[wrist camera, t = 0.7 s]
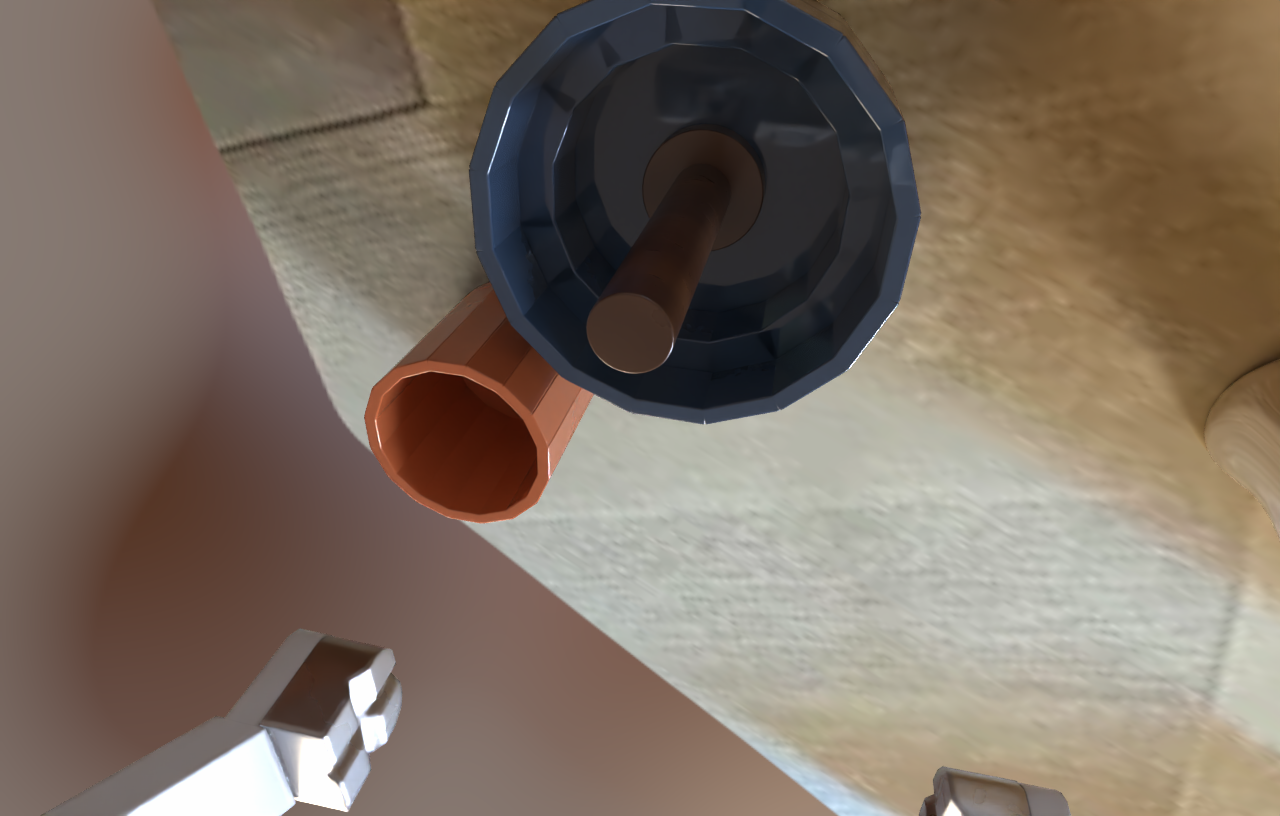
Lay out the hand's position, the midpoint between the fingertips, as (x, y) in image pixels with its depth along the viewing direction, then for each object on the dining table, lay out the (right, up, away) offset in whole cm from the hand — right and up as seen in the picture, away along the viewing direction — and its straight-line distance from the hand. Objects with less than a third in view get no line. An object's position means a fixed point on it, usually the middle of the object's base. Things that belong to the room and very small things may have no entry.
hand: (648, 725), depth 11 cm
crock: (-6, +7, +25) cm, 26 cm away
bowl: (+3, +14, +18) cm, 23 cm away
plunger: (+2, +13, +18) cm, 22 cm away
